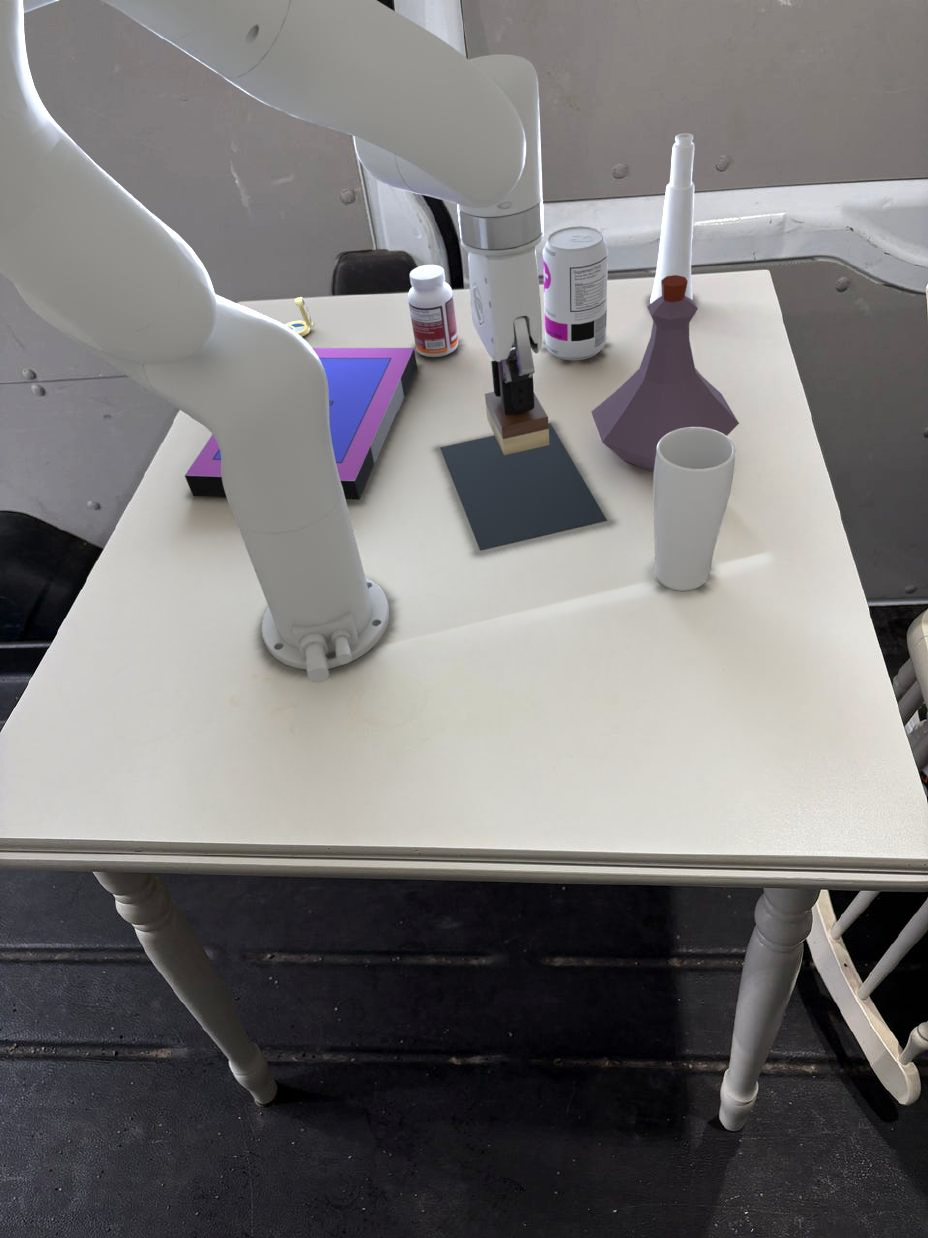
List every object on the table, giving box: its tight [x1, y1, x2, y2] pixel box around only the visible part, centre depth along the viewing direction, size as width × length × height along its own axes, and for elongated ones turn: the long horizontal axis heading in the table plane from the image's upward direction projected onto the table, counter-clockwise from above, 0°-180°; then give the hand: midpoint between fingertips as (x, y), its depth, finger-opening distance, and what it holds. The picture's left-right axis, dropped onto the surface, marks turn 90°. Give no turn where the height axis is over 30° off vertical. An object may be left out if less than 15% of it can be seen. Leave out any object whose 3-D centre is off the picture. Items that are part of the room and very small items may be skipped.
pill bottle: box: [407, 264, 459, 358], centre depth 115 cm, size 6×6×11 cm
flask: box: [590, 275, 740, 473], centre depth 90 cm, size 16×16×20 cm
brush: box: [484, 346, 550, 455], centre depth 87 cm, size 7×5×10 cm
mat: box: [439, 422, 608, 551], centre depth 95 cm, size 20×14×1 cm
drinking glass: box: [652, 427, 737, 592], centre depth 77 cm, size 7×7×15 cm
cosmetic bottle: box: [649, 132, 696, 304], centre depth 114 cm, size 6×6×22 cm
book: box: [184, 347, 418, 501], centre depth 107 cm, size 21×3×30 cm
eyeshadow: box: [284, 296, 314, 338], centre depth 126 cm, size 4×5×5 cm
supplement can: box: [542, 225, 609, 361], centre depth 110 cm, size 8×8×15 cm
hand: (514, 400), depth 88 cm, fingers closed on brush, 3 cm apart
